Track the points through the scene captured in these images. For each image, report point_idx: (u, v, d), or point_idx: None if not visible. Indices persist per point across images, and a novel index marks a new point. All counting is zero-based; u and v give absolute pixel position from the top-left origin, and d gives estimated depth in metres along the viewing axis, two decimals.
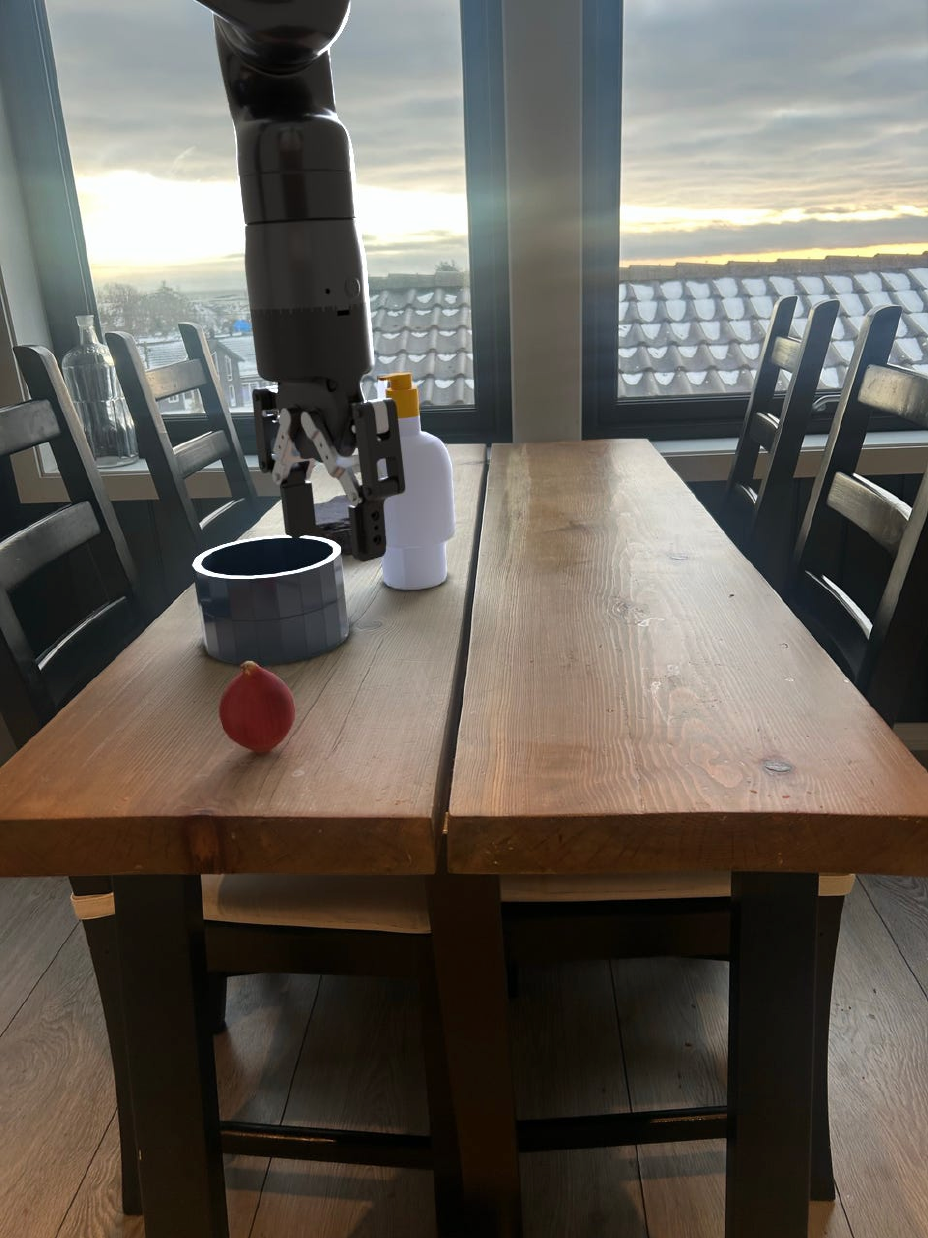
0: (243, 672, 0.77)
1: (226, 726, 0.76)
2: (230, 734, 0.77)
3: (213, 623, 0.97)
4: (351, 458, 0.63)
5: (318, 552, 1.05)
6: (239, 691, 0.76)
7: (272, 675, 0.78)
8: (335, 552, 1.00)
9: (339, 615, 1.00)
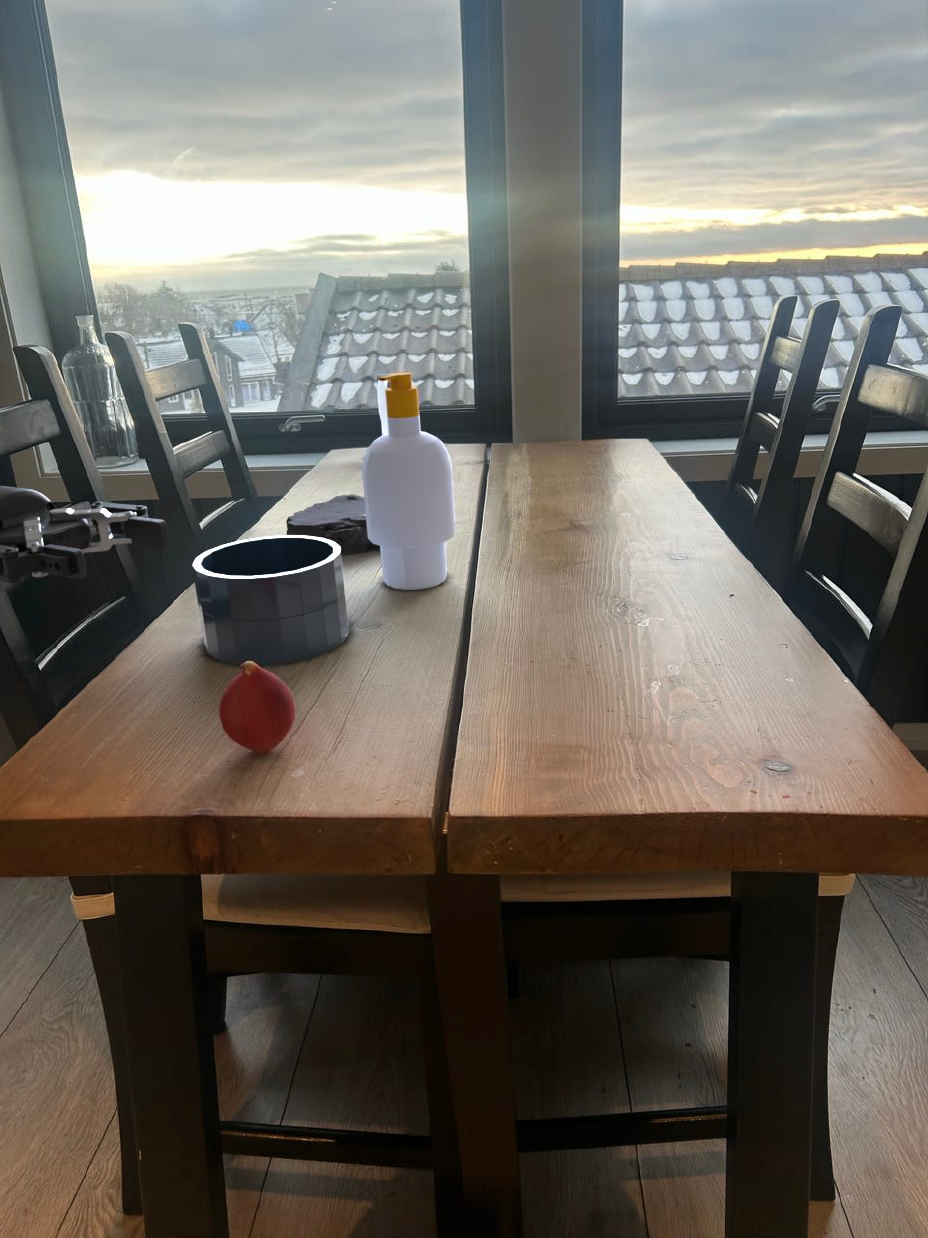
0: (243, 672, 0.77)
1: (226, 726, 0.76)
2: (230, 734, 0.77)
3: (213, 623, 0.97)
4: None
5: (318, 552, 1.05)
6: (239, 691, 0.76)
7: (272, 675, 0.78)
8: (335, 552, 1.00)
9: (339, 615, 1.00)
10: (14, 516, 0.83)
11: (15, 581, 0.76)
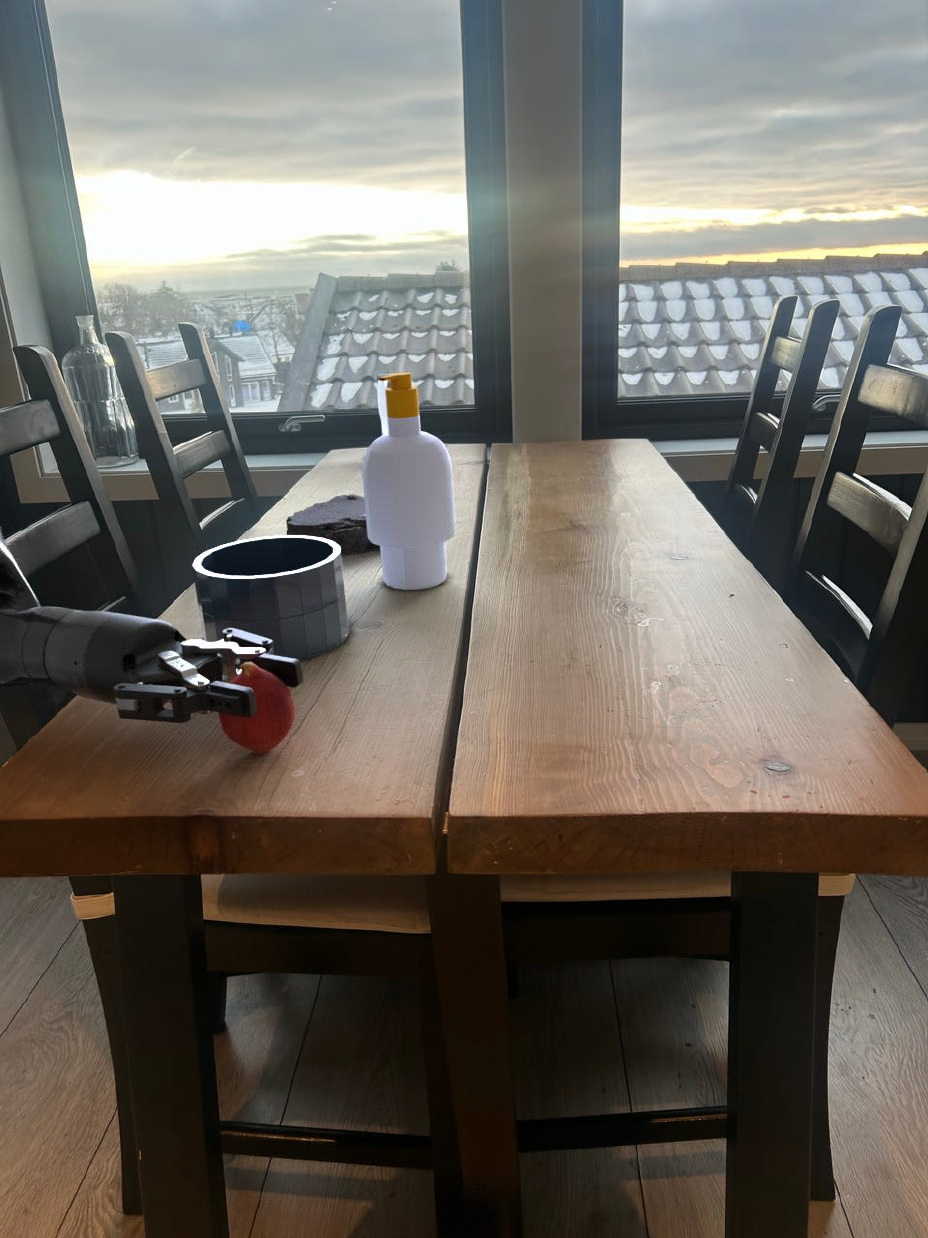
0: (242, 673, 0.77)
1: (226, 727, 0.76)
2: (230, 735, 0.77)
3: (213, 623, 0.97)
4: None
5: (318, 552, 1.05)
6: None
7: (271, 675, 0.77)
8: (335, 552, 1.00)
9: (339, 615, 1.00)
10: (145, 649, 0.81)
11: (186, 720, 0.74)
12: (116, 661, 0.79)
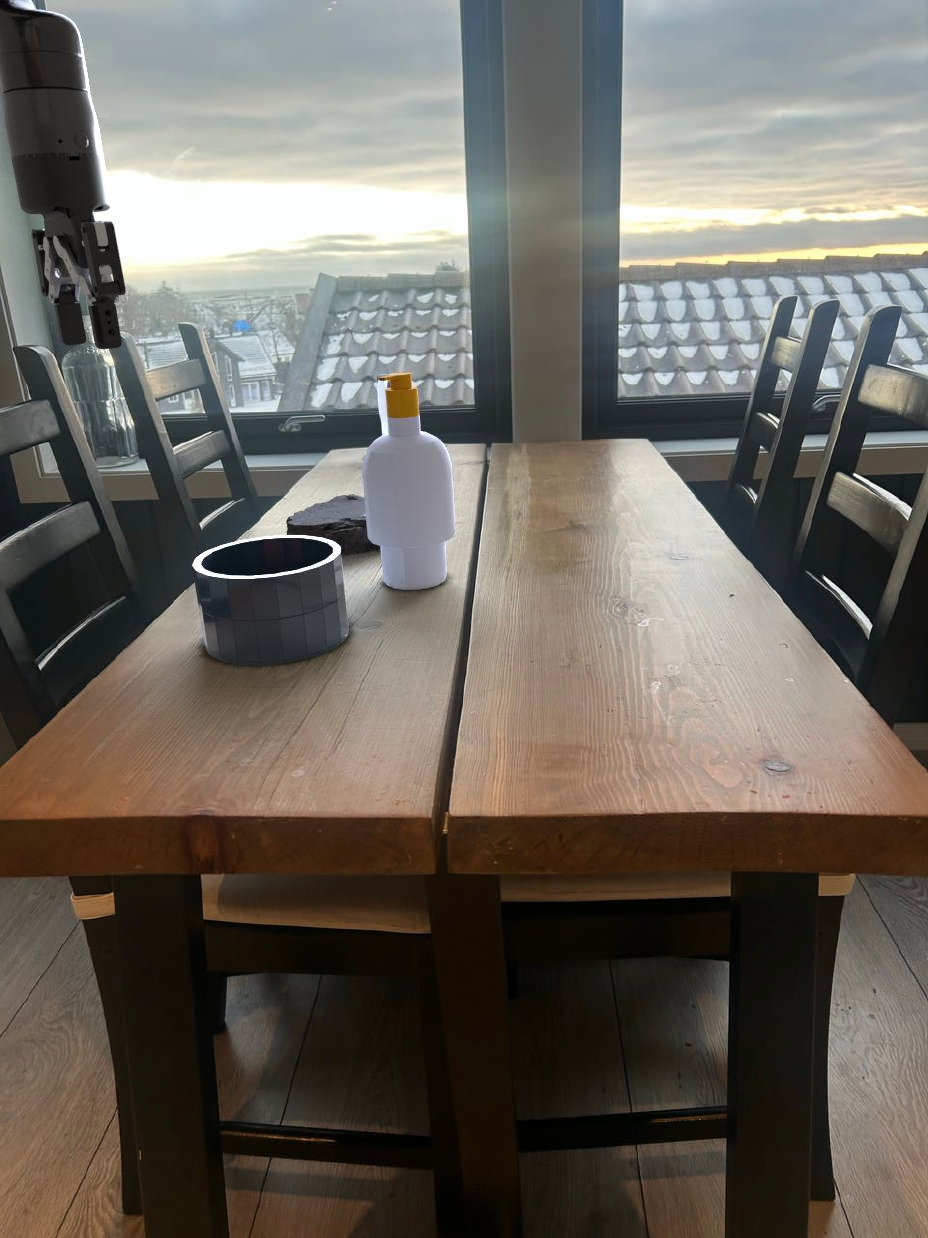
0: None
1: None
2: None
3: (213, 623, 0.97)
4: (88, 269, 0.87)
5: (318, 552, 1.05)
6: None
7: None
8: (335, 552, 1.00)
9: (339, 615, 1.00)
10: (43, 212, 0.88)
11: None
12: None
